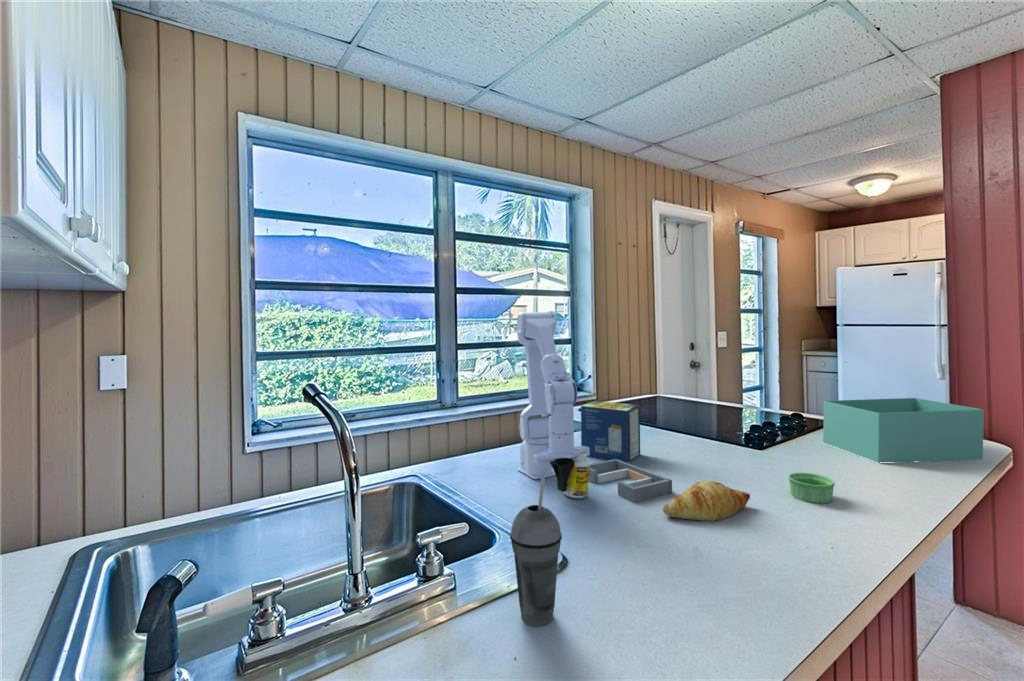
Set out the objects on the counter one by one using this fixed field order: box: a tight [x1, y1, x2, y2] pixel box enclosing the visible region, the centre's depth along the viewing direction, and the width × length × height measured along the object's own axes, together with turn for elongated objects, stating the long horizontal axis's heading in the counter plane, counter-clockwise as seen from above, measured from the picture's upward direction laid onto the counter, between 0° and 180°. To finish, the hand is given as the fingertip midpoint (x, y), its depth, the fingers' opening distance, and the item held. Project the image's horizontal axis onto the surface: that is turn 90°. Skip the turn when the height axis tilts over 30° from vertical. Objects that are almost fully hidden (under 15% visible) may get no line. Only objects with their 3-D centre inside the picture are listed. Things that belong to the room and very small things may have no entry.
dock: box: [588, 459, 673, 503], centre depth 116 cm, size 20×12×3 cm, turn 28°
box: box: [822, 397, 985, 463], centre depth 140 cm, size 21×32×14 cm, turn 94°
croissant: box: [662, 480, 751, 522], centre depth 99 cm, size 21×10×8 cm
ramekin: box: [788, 472, 836, 504], centre depth 106 cm, size 9×9×4 cm
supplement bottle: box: [563, 452, 591, 499], centre depth 109 cm, size 6×6×10 cm
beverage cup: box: [509, 475, 563, 628], centre depth 64 cm, size 7×7×20 cm
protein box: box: [580, 400, 641, 464], centre depth 142 cm, size 10×15×16 cm
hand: (562, 490), depth 107 cm, fingers closed
